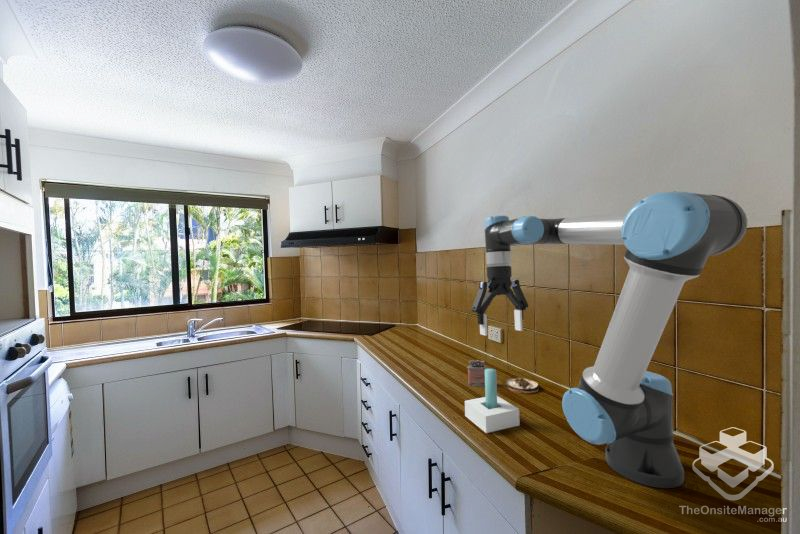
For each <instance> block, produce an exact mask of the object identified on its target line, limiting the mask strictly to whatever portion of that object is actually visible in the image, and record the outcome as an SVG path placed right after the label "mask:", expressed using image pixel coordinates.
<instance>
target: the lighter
mask: <svg viewBox="0 0 800 534" xmlns="http://www.w3.org/2000/svg"><path fill="white" fill-rule="evenodd" d="M468 364H469V365H467V368H466V369H467V381H468V382H467V386H470V387H485V369H488V365H485V361H484V360H479V359H476V360H469V361H468Z"/></svg>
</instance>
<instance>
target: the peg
mask: <svg viewBox="0 0 800 534" xmlns="http://www.w3.org/2000/svg"><path fill="white" fill-rule="evenodd" d="M497 377H498V376H497V370H496V369H494V368H487V369H485V386H484V392H485V393H484V394H485V396H484V397H485V399H486V408H488V409H493V408H497V396H498V387H497V386H498V385H497V383H498V380H497Z"/></svg>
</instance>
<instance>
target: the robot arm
mask: <svg viewBox="0 0 800 534" xmlns="http://www.w3.org/2000/svg"><path fill="white" fill-rule="evenodd" d="M747 229H748V217H747V215H746V212H745V210H744V209H743V208H742V206H740V205H739V204H738V203H737V202H736V201H734V200H733V199H731V198H728V197H726V196H722V195H715V194H702V193H695V192H688V191H676V190H675V191H674V190H673V191H669V192H667V191H666V192H665V191H664V192H658V193H655V194H651V195H649V196H646V197H645V198H643V199H642V200H639V201H638V202H637V203H635V204H634V205H633V206H632V207H631V208H630V209H629V210H628V212H627V213H615V214H614V213H613V214H603V215H591V216H577V217H575V216H574V217H563V218H562V217H561V218H538V217H537V216H534V215H528V216H520V217H519V218H513V219H510V218H509V216H507V215H493V216H488V217H486V218H485V220H484V230H483V231H484V238H485V239H484V241H485V252H486V253H485V258H486V265H487V266H486V277H487V281H480V282H478V290H477V293H476V296H475V298H474V302H473V304H472V305H471V310H470V311H471V312H473V313H475V314H476V315H477V324H478V325H479V334H480V335H482V336H488V319H487V313H486V311H487V309H488V308H489V306H490V305H491V303H492V301H493V300H494V298H496V296H501V295H503V296H504V295H505V296H506V297H507V298H508V300H509V301H510V302H511V304H512V305H513V307H514V308H515V309H513V314H514V315H513V316H514V318H513V319H514V330H515V331H518V332H519V331H520V332H523V331H524V330H523V329H524V328H523V320H524V311H526V309H527V308H529V303H528V301H527V299H526V297H525V294H524V292H523V290H522V287H521V284H520V280H519V279H511V278H512V266H511V264H512V256H511V255H512V254H511V253H512V252H511V251H512V249H511V246H515V245H516V246H517V245H619V246H621V245H624V246H625V248H626V251H625V254H624V256H623V258H624V260H625V262H626V263H627V264H628V266H629V268H628V269H629V270H628V272H627V275H626V278H625V280H624V283H623V287H622V289H621V292H620V294H619V296H618V300H617V302H616V306H615V308H614V311H613V314H612V315H611V318H610V321H609V323H608V327H607V330H606V332H605V335H604V338H603V340H602V343H601V346H600V349H599V351H598V354H597V357H596V360H595V362H594V364H593V366H589V367H588V366H587V367H586V368H584V370H583V371H582V374H581V376H580V380H579V382H578V385H577V386H576V387H571V388H570V389H567V391H565V392H564V394H563V395H562V401H561V406H562V407H561V408H562V411H563V415H564V416H565V418H566V421H567V423H568V425H569V426H570V428H571V429H572V431H574V432H575V433H576V434H577V436H579V437H580V438H581V439H582V440H583V441H586V442H588V443H590V444H593V445H596V446H597V445H598V446H600V445H605V444H606V446H605V451H604V452H605V461H606V463H607V465H608V466H609V467H610V468H611V469H612V470H613V471H615V472H616V473H617V474H618V475H620V476H622V477H623V478H626V479H628V480H630V481H632V482H635V483H638V484H640V485H643V486H648V487H651V488H652V487H653V488H657V489H658V488H659V489H673V488H674V489H675V488H677V487H680V486H682V485H683V483H684V481H685V470H684V466H683V464H682V461H681V460H680V456H679V454H678V451H677V449H676V447H675V443H674V415H673V409H674V407H673V406H674V405H673V396H674V393H673V390H672V383H671V381H670V380H669V378H667V377H665V376H663V375H661V374H659V373H655V372H651V371H648V370H647V369H648V366H649V365H650V362H651V360H652V359H653V358H652V357H653V355H654V354H655V351H656V348H657V346H658V344H659V342H660V339H661V337H662V335H663V332H664V330H665V327H666V326H667V323H668V321H669V319H670V317H671V314H672V312H673V310H674V309H675V308H674V307H675V306H676V303H677V300H678V298H679V296H680V294H681V292H682V288H683V286H684V284H685V283H686V282H687V281H690V280H693V279H696V278H698V277H699V276H700V275H701V274H702V271H703V269H704V267H705V265H706V263H707V260H708V257H711V256H717V255H721V254H723V253H726V252H727V251H730V250H731V249H732V248H735V247H736V246H737V245H738V244H739V243H740V242H741V240H742V239H743V238H744V236H745V235H746V232H747Z"/></svg>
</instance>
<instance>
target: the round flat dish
mask: <svg viewBox="0 0 800 534" xmlns="http://www.w3.org/2000/svg"><path fill="white" fill-rule="evenodd" d="M505 384H506V389H508V391H509V392H512V393H518V394H525V395H526V394H529V395H530V394H535V393H538V392H539V391H540V384H539V383H538V382H537V381H535V380H531V379H529V378H528V379H527V378H524V377H523V378H522V377H516V378H508V379H506V381H505Z"/></svg>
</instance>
